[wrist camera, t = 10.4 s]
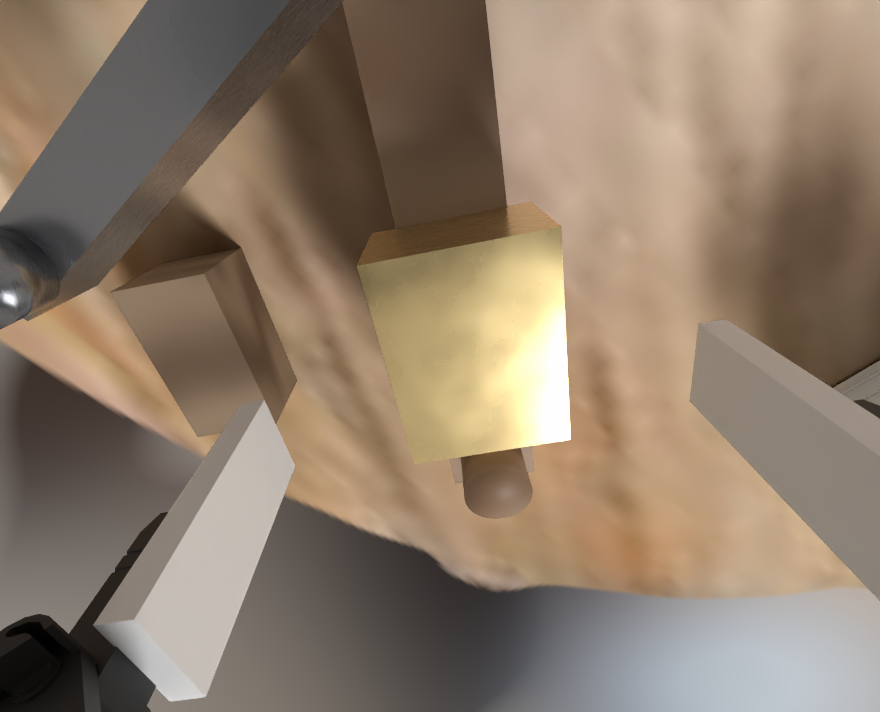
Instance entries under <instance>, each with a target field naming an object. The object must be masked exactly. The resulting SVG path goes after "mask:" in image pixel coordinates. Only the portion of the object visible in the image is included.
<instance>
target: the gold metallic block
mask: <svg viewBox="0 0 880 712" xmlns="http://www.w3.org/2000/svg"><path fill="white" fill-rule="evenodd" d="M357 269H358V273H359V276H360V280H361V283H362V287H363V290H364V293H365V297H366V300H367V304H368V307H369V310H370V314H371V317H372V321H373V324H374V328H375V331H376V334H377V338H378V341H379V345H380V348H381V351H382V355H383V358H384V362H385V365H386V369H387V372H388V375H389V379H390V382H391V386H392V389H393V392H394V396H395V399H396V403H397V406H398V410H399V413H400V416H401V420H402V423H403V427H404V430H405V434H406V437H407V440H408V444H409V447H410V451H411V454H412V457H413V461H414V464H420V463H427V462H433V461H439V460H446V459H452V458H458V457H464V456H471V455H477V454H483V453H490V452H496V451H502V450H509V449H515V448H521V447H528V446H534V445H540V444H546V443H553V442H559V441H565V440H571V436H570V413H569V391H568V369H567V346H566V324H565V302H564V279H563V257H562V235H561V226H560V225H559V224H558V223H556V222H555V221H554V220H553V219H552V218H550V217H549V216H548V215H547V214H545V213H544V212H543V211H542V210H541V209H539V208H538V207H537V206H536V205H535V204H533V203H532V202H527V203H522V204H517V205H512V206H507V207H502V208H497V209H492V210H487V211H482V212H477V213H472V214H466V215H461V216H456V217H451V218H446V219H441V220H436V221H431V222H426V223H421V224H416V225H411V226H406V227H401V228H396V229H391V230H386V231H381V232H376V233H372V234H371V236H370V238H369V241H368V243H367V245H366V247H365V249H364V251H363V253H362V255H361V258H360V260H359V262H358V264H357Z"/></svg>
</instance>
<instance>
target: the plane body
mask: <svg viewBox="0 0 880 712" xmlns="http://www.w3.org/2000/svg"><path fill="white" fill-rule="evenodd" d="M342 4H343V8H344V13H345V17H346V21H347V25H348V30H349V34H350V38H351V42H352V47H353V51H354V55H355V59H356V64H357V68H358V72H359V76H360V81H361V85H362V89H363V93H364V98H365V102H366V106H367V110H368V115H369V119H370V123H371V127H372V132H373V136H374V140H375V144H376V149H377V153H378V157H379V161H380V166H381V170H382V174H383V178H384V183H385V187H386V191H387V195H388V200H389V204H390V208H391V212H392V217H393V221H394V225H395V229H396V228H401V227H406V226H411V225H416V224H421V223H426V222H431V221H436V220H441V219H446V218H451V217H456V216H461V215H466V214H472V213H477V212H482V211H487V210H492V209H497V208H502V207H507V204H506V194H505V185H504V175H503V165H502V156H501V146H500V137H499V127H498V118H497V108H496V99H495V89H494V79H493V70H492V60H491V51H490V41H489V32H488V22H487V13H486V3H485V0H344V1H343V2H342ZM450 463H451V467H452V472H453V476H454V480H455V484H456V483H462V482H463V486H464V496H465V502H466V505H467V506H468V508H469V509H470V510H471V511H472V512H474V513H475V514H477V515H479V516H482V517H485V518H492V519H499V518H506V517H509V516H512V515H515V514H517V513H519V512H520V511H522V510H523V509H524V508H525V507H526V506H527V505H528V504H529V502H530V500H531V498H532V486H531V483H530V479H529V476H528V472H533V471H534V462H533V452H532V446H528V447H521V448H515V449H509V450H502V451H496V452H490V453H483V454H477V455H471V456H464V457H458V458H452V459H450Z"/></svg>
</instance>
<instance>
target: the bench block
mask: <svg viewBox="0 0 880 712" xmlns="http://www.w3.org/2000/svg"><path fill="white" fill-rule="evenodd" d="M110 294H111V295H112V297H113V299H114V300H115V302H116V303H117V305H118V307H119V308H120V310H121V312H122V313H123V315H124V317H125V318H126V320H127V322H128V323H129V325H130V327H131V328H132V330H133V331H134V333H135V335H136V336H137V338H138V340H139V341H140V343H141V345H142V346H143V348H144V350H145V351H146V353H147V354H148V356H149V358H150V359H151V361H152V363H153V364H154V366H155V368H156V369H157V371H158V373H159V374H160V376H161V378H162V379H163V381H164V382H165V384H166V386H167V387H168V389H169V391H170V392H171V394H172V396H173V397H174V399H175V401H176V402H177V404H178V405H179V407H180V409H181V410H182V412H183V414H184V415H185V417H186V419H187V420H188V422H189V424H190V425H191V427H192V429H193V430H194V432H195V433H196V435H197V437H201V436H206V435H212V434H218V433H222V431H223V430H224V428H225V427H226V425H227V424H228V422H229V421H230V419H231V418H232V416H233V415H234V413H235V412H236V410H237V409H238V407H239V406H240V404H245V403H250V402H256V401H262V400H264V401H265V403H266V405H267V407H268V409H269V411H270V413H271V416H272V418H273V420H274V422H275V424H276V423H277V421H278V419H279V417H280V415H281V413H282V411H283V409H284V407H285V404H286V402H287V400H288V398H289V396H290V394H291V392H292V390H293V388H294V386H295V384H296V382H297V379H296V377H295V375H294V372H293V370H292V367H291V365H290V363H289V360H288V358H287V356H286V353H285V351H284V348H283V346H282V344H281V341H280V339H279V337H278V334H277V332H276V330H275V327H274V325H273V322H272V320H271V318H270V315H269V313H268V311H267V308H266V306H265V303H264V301H263V299H262V296H261V294H260V292H259V289H258V287H257V285H256V282H255V280H254V277H253V275H252V273H251V270H250V268H249V266H248V263H247V261H246V258H245V256H244V254H243V251H242V249H241V248H237V249H232V250H227V251H222V252H217V253H212V254H207V255H202V256H197V257H192V258H187V259H182V260H177V261H172V262H167V263H162V264H160V265H158V266H156V267H154V268H153V269H151V270H149V271H147V272H145V273H144V274H142V275H140V276H138V277H136V278H135V279H133V280H131V281H129V282H128V283H126V284H124V285H122V286H120V287H119V288H117V289H115V290H113V291H111V292H110Z"/></svg>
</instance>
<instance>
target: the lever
mask: <svg viewBox="0 0 880 712" xmlns="http://www.w3.org/2000/svg"><path fill="white" fill-rule="evenodd" d="M343 1H344V0H148V1H147V2H146V4H145V5H144V7H143V8H142V9H141V11H140V12H139V14H138V15H137V17H136V18H135V20H134V21H133V22H132V24H131V25H130V27H129V28H128V30H127V31H126V32H125V34H124V35H123V37H122V38H121V40H120V41H119V42H118V44H117V45H116V47H115V48H114V50H113V51H112V53H111V54H110V55H109V57H108V58H107V60H106V61H105V63H104V64H103V65H102V67H101V68H100V70H99V71H98V73H97V74H96V75H95V77H94V78H93V80H92V81H91V83H90V84H89V86H88V87H87V88H86V90H85V91H84V93H83V94H82V96H81V97H80V98H79V100H78V101H77V103H76V104H75V106H74V107H73V108H72V110H71V111H70V113H69V114H68V116H67V117H66V119H65V120H64V121H63V123H62V124H61V126H60V127H59V129H58V130H57V131H56V133H55V134H54V136H53V137H52V139H51V140H50V141H49V143H48V144H47V146H46V147H45V149H44V150H43V152H42V153H41V154H40V156H39V157H38V159H37V160H36V162H35V163H34V164H33V166H32V167H31V169H30V170H29V172H28V173H27V175H26V176H25V177H24V179H23V180H22V182H21V183H20V185H19V186H18V187H17V189H16V190H15V192H14V193H13V195H12V196H11V197H10V199H9V200H8V202H7V203H6V205H5V206H4V208H3V209H2V210H1V212H0V329H2V328H4V327H6V326H8V325H10V324H12V323H14V322H16V321H18V320H20V319H22V318H24V319H25V320H27V321H29V320H31V319H33V318H35V317H37V316H39V315H40V314H42V313H44V312H46V311H48V310H50V309H52V308H54V307H56V306H58V305H60V304H62V303H64V302H66V301H68V300H70V299H72V298H74V297H75V296H77V295H79V294H81V293H83V292H85V291H87V290H89V289H91V288H93V287H95V286H97V285H98V284H99V283H100V282H101V281H102V279H103V278H104V277H105V276H106V275H107V274H108V272H109V271H110V270H111V269H112V268H113V267H114V266H115V264H116V263H117V262H118V261H119V260H120V259H121V257H122V256H123V255H124V254H125V253H126V252H127V250H128V249H129V248H130V247H131V246H132V245H133V244H134V242H135V241H136V240H137V239H138V238H139V237H140V235H141V234H142V233H143V232H144V231H145V230H146V229H147V227H148V226H149V225H150V224H151V223H152V222H153V220H154V219H155V218H156V217H157V216H158V215H159V213H160V212H161V211H162V210H163V209H164V208H165V207H166V205H167V204H168V203H169V202H170V201H171V200H172V198H173V197H174V196H175V195H176V194H177V193H178V192H179V190H180V189H181V188H182V187H183V186H184V185H185V183H186V182H187V181H188V180H189V179H190V178H191V177H192V175H193V174H194V173H195V172H196V171H197V170H198V168H199V167H200V166H201V165H202V164H203V163H204V161H205V160H206V159H207V158H208V157H209V156H210V155H211V153H212V152H213V151H214V150H215V149H216V148H217V146H218V145H219V144H220V143H221V142H222V141H223V140H224V138H225V137H226V136H227V135H228V134H229V133H230V131H231V130H232V129H233V128H234V127H235V126H236V124H237V123H238V122H239V121H240V120H241V119H242V118H243V116H244V115H245V114H246V113H247V112H248V111H249V109H250V108H251V107H252V106H253V105H254V104H255V103H256V101H257V100H258V99H259V98H260V97H261V96H262V94H263V93H264V92H265V91H266V90H267V89H268V87H269V86H270V85H271V84H272V83H273V82H274V81H275V79H276V78H277V77H278V76H279V75H280V74H281V72H282V71H283V70H284V69H285V68H286V67H287V66H288V64H289V63H290V62H291V61H292V60H293V59H294V57H295V56H296V55H297V54H298V53H299V52H300V50H301V49H302V48H303V47H304V46H305V45H306V44H307V42H308V41H309V40H310V39H311V38H312V37H313V35H314V34H315V33H316V32H317V31H318V30H319V29H320V27H321V26H322V25H323V24H324V23H325V22H326V20H327V19H328V18H329V17H330V16H331V15H332V13H333V12H334V11H335V10H336V9H337V8H338V7H339V5H340V4H341V3H342V2H343Z"/></svg>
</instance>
